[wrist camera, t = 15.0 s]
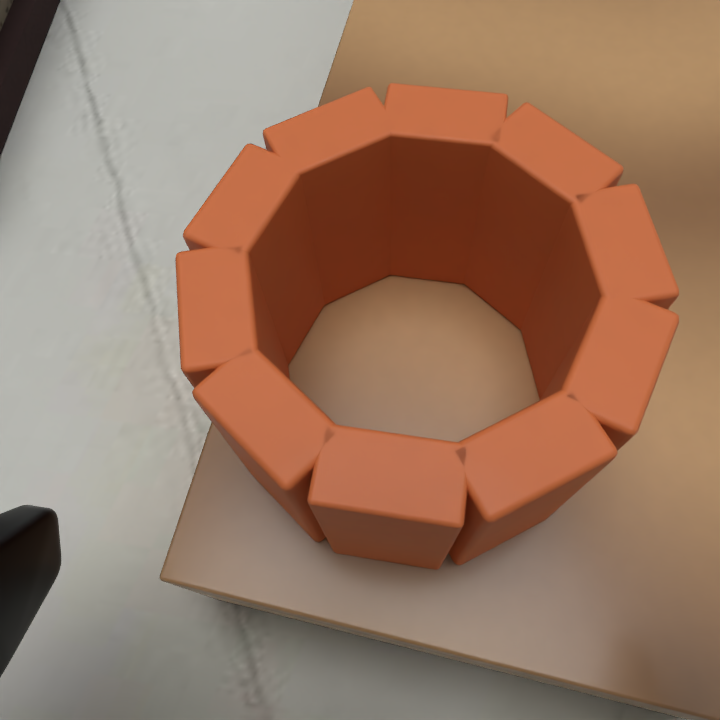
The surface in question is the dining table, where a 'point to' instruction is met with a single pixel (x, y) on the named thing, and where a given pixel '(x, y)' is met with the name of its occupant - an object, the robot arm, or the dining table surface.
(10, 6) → the book
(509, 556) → the wooden board
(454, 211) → the ring
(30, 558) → the robot arm
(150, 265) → the dining table surface
